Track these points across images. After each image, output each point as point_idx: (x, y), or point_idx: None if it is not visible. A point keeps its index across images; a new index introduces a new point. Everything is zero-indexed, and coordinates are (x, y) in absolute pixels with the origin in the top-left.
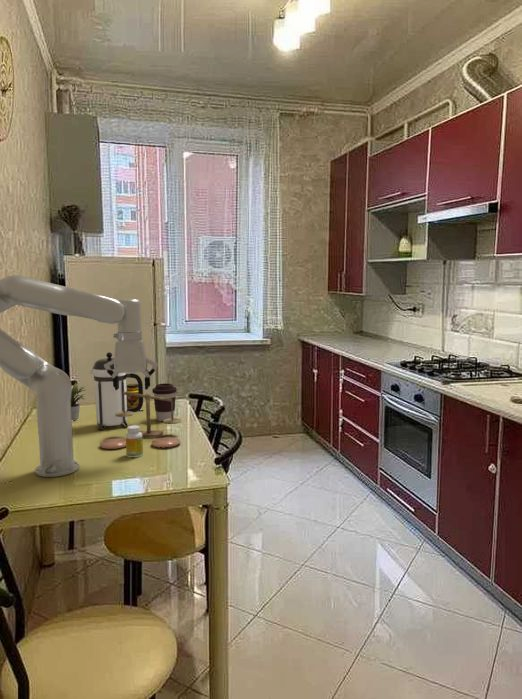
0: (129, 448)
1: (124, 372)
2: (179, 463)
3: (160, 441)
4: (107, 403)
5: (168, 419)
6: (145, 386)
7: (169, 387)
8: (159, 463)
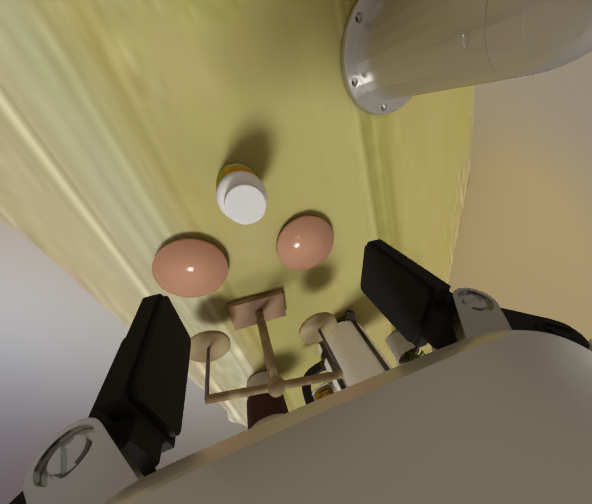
0: (245, 167)
1: (423, 357)
2: (48, 108)
3: (206, 267)
4: (363, 355)
5: (220, 350)
6: (152, 309)
7: None
8: (126, 110)
